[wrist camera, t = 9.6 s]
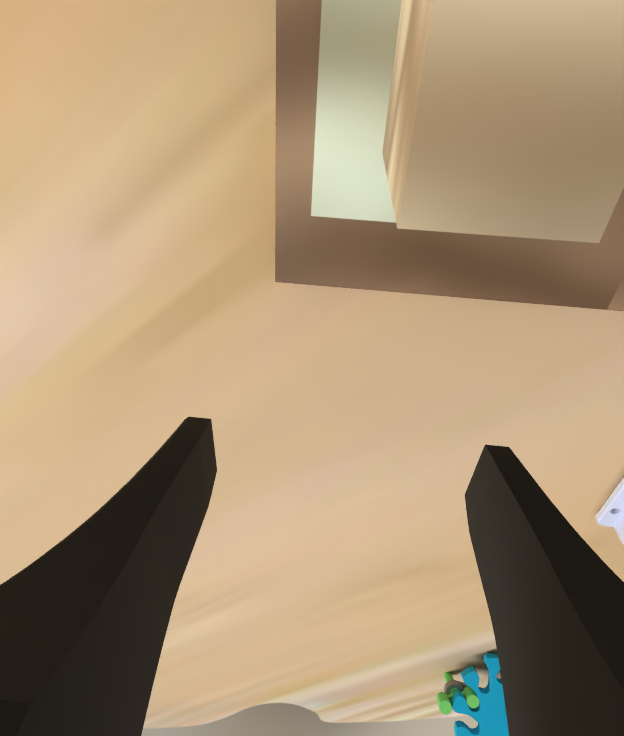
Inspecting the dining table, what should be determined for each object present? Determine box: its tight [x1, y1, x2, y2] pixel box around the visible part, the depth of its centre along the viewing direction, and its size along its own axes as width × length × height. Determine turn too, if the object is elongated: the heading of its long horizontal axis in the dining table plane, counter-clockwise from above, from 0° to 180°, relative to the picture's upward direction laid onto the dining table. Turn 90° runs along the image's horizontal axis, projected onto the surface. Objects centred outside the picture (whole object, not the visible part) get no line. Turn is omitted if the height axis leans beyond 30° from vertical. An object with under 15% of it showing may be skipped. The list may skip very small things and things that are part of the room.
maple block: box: [382, 0, 624, 243], centre depth 11 cm, size 4×4×7 cm
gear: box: [437, 653, 509, 736], centre depth 40 cm, size 11×6×10 cm
